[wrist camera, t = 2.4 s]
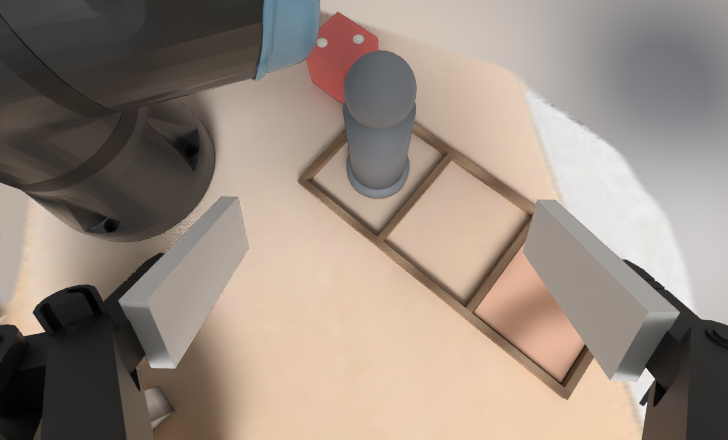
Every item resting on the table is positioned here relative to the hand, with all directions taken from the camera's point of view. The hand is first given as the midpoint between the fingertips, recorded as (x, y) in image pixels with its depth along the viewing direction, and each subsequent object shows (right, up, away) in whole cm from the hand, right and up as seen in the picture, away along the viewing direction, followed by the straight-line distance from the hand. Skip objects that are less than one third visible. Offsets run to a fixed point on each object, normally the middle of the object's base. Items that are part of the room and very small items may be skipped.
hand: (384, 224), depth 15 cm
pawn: (0, +5, +17) cm, 18 cm away
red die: (-3, +15, +20) cm, 26 cm away
